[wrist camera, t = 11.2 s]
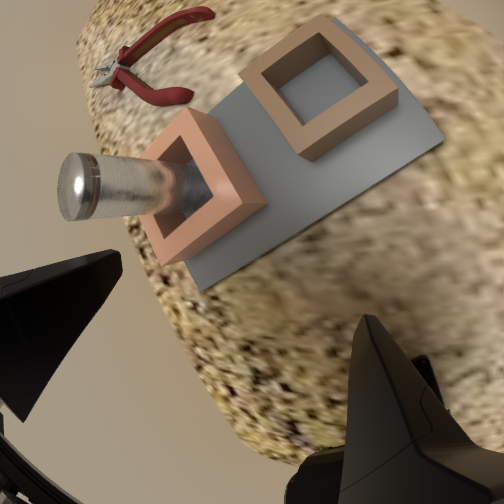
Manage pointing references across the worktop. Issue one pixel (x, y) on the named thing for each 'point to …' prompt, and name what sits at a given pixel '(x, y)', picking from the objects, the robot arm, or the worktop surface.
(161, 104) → the pliers
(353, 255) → the worktop surface
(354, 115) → the dock plate
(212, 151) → the socket
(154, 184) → the peg
